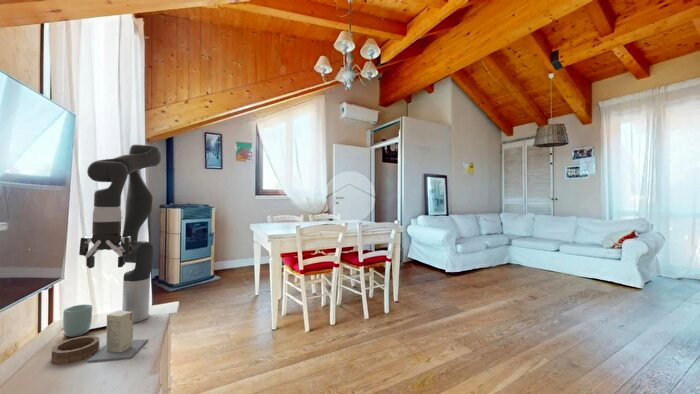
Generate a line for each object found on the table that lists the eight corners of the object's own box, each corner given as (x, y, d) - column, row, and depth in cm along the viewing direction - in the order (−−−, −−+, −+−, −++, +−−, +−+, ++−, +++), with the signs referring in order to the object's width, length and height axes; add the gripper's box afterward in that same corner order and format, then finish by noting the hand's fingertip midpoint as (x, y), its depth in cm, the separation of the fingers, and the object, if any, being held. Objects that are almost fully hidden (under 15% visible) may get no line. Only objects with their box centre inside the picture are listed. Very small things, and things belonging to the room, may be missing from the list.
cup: (77, 329, 112) (78, 303, 113) (96, 330, 112) (97, 304, 112) (56, 339, 105) (57, 311, 105) (77, 339, 104) (78, 312, 105)
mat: (109, 343, 102) (109, 342, 102) (147, 340, 105) (147, 339, 105) (87, 362, 91) (87, 360, 91) (131, 358, 93) (131, 356, 93)
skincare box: (133, 347, 99) (134, 311, 99) (120, 353, 95) (122, 316, 95) (117, 344, 100) (119, 309, 101) (104, 351, 96) (106, 314, 96)
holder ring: (68, 347, 99) (68, 337, 99) (105, 344, 102) (106, 334, 102) (41, 365, 88) (42, 354, 88) (84, 361, 91) (85, 350, 91)
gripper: (74, 220, 93) (73, 271, 93) (125, 221, 96) (124, 269, 96) (89, 218, 100) (88, 265, 100) (136, 219, 104) (135, 264, 104)
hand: (106, 267), depth 98 cm, fingers open, 8 cm apart
